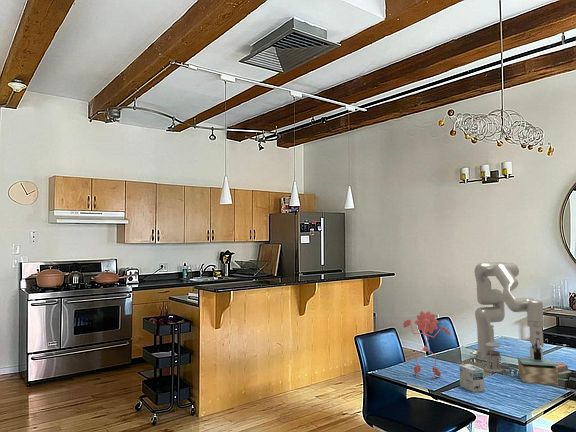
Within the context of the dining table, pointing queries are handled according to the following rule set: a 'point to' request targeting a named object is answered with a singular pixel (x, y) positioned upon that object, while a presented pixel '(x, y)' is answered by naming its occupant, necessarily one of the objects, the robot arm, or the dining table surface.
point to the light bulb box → (472, 377)
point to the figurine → (426, 324)
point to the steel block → (533, 354)
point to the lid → (537, 362)
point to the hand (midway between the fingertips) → (536, 358)
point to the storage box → (538, 374)
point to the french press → (493, 357)
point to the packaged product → (562, 368)
